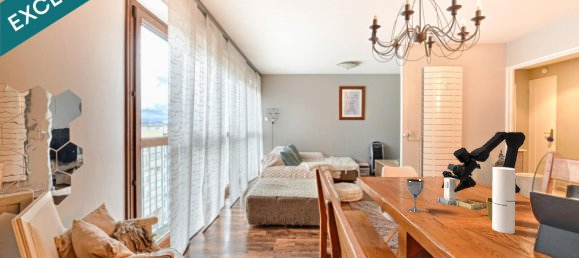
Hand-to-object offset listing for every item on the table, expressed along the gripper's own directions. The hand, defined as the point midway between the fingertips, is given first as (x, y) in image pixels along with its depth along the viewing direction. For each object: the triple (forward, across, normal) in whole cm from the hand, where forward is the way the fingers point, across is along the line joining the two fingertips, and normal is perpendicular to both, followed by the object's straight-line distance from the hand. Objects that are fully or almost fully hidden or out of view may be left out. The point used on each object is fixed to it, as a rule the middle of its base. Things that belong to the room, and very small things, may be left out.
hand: (448, 189), depth 145 cm
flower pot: (+3, +26, +8) cm, 28 cm away
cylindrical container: (+9, +36, +3) cm, 37 cm away
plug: (+4, 0, +6) cm, 7 cm away
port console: (+3, +4, +8) cm, 9 cm away
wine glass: (+23, +7, -11) cm, 26 cm away
